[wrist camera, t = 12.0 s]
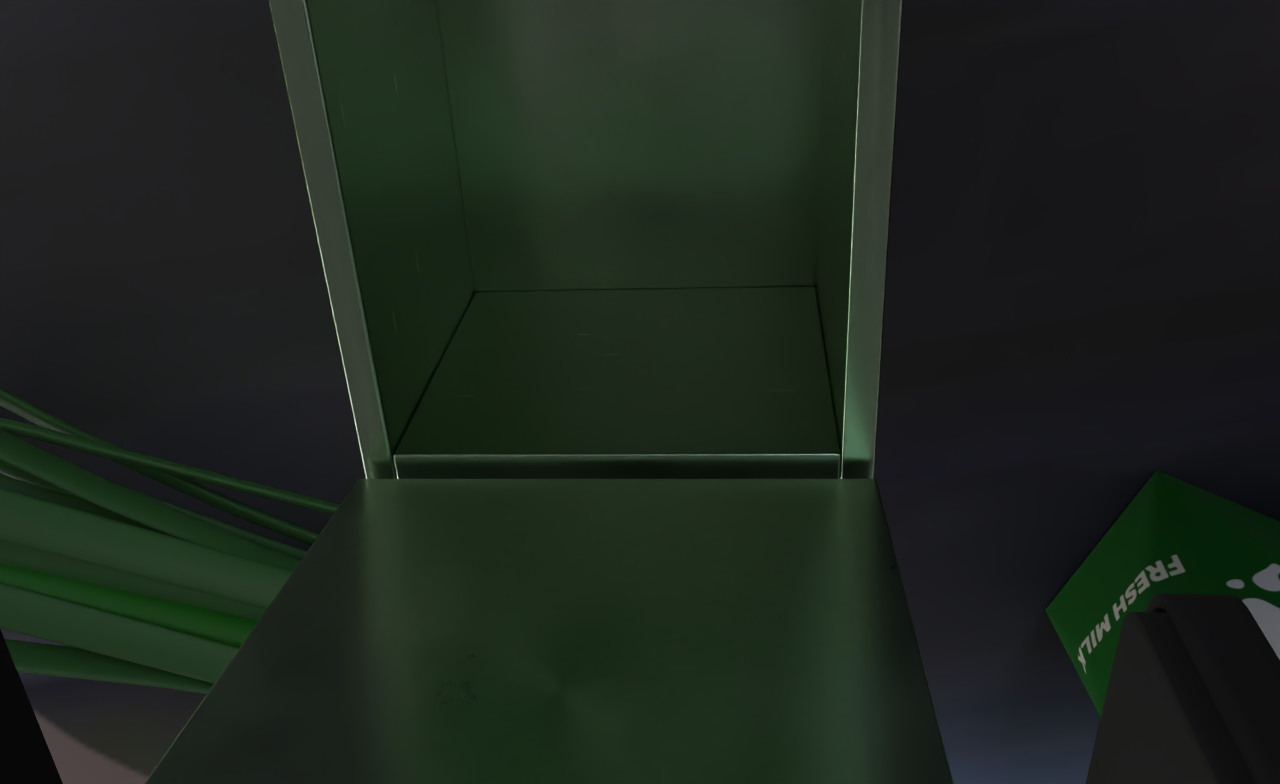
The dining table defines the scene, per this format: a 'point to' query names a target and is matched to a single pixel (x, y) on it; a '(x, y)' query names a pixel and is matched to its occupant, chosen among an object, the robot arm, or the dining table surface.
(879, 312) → the waste bin
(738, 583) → the bin lid
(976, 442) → the dining table surface
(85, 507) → the daffodil flowers
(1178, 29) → the dining table surface
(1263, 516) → the milk carton
